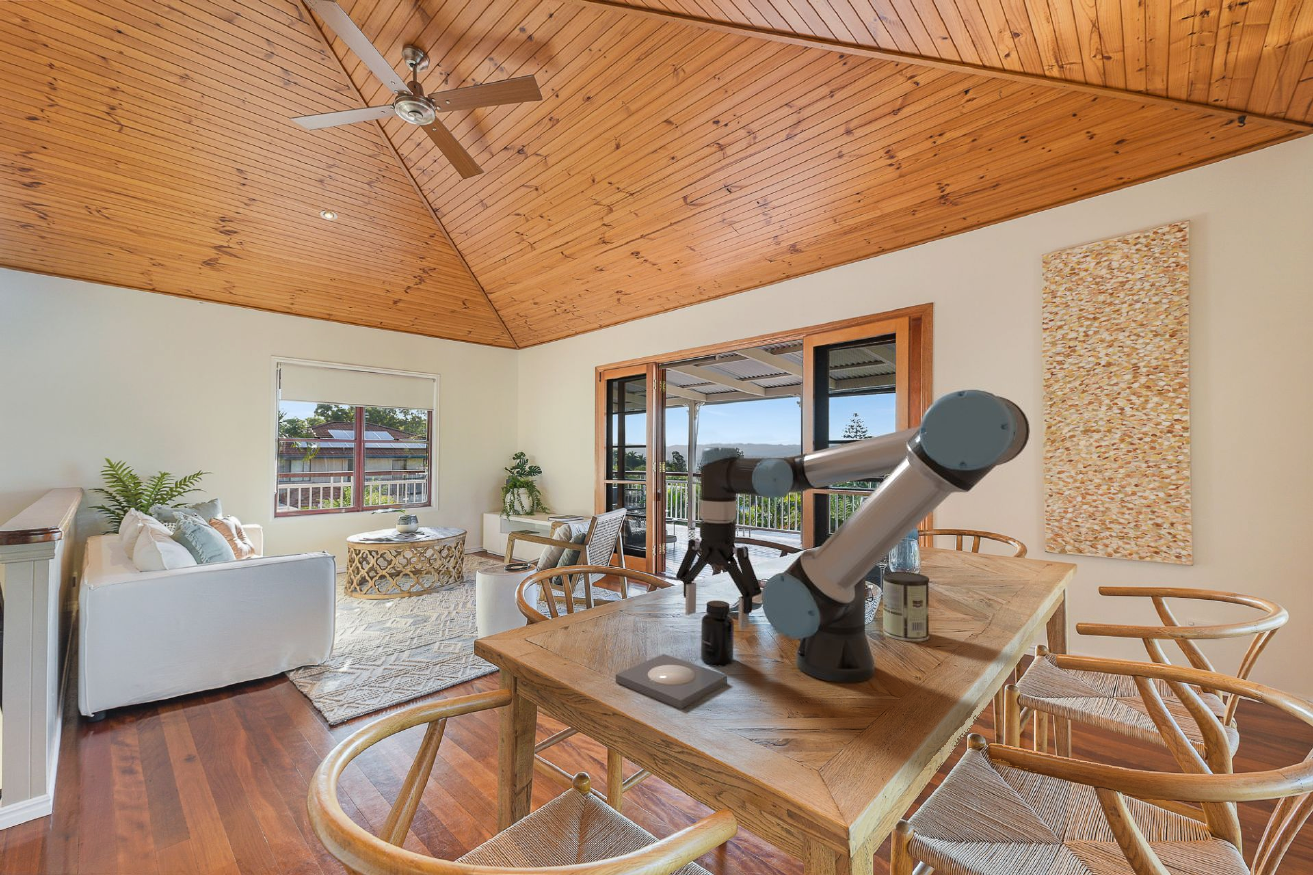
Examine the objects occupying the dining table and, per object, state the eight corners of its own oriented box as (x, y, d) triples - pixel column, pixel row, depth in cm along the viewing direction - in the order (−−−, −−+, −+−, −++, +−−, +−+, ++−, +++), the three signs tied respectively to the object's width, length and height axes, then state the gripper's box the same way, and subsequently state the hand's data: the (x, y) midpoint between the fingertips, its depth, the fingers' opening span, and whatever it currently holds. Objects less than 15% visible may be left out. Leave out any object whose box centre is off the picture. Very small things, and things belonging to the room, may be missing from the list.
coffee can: (898, 624, 142) (898, 569, 142) (937, 636, 133) (938, 577, 134) (873, 632, 136) (873, 574, 136) (913, 645, 128) (913, 583, 128)
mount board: (727, 683, 106) (727, 674, 106) (680, 708, 96) (680, 699, 96) (663, 660, 117) (663, 653, 117) (615, 682, 107) (615, 673, 107)
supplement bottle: (696, 663, 116) (697, 605, 116) (705, 652, 122) (706, 597, 122) (729, 668, 113) (729, 609, 113) (736, 656, 120) (737, 600, 120)
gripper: (779, 525, 113) (777, 630, 113) (683, 512, 129) (681, 604, 129) (759, 529, 107) (757, 640, 107) (661, 515, 124) (659, 611, 124)
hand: (716, 620), depth 118 cm, fingers open, 13 cm apart
